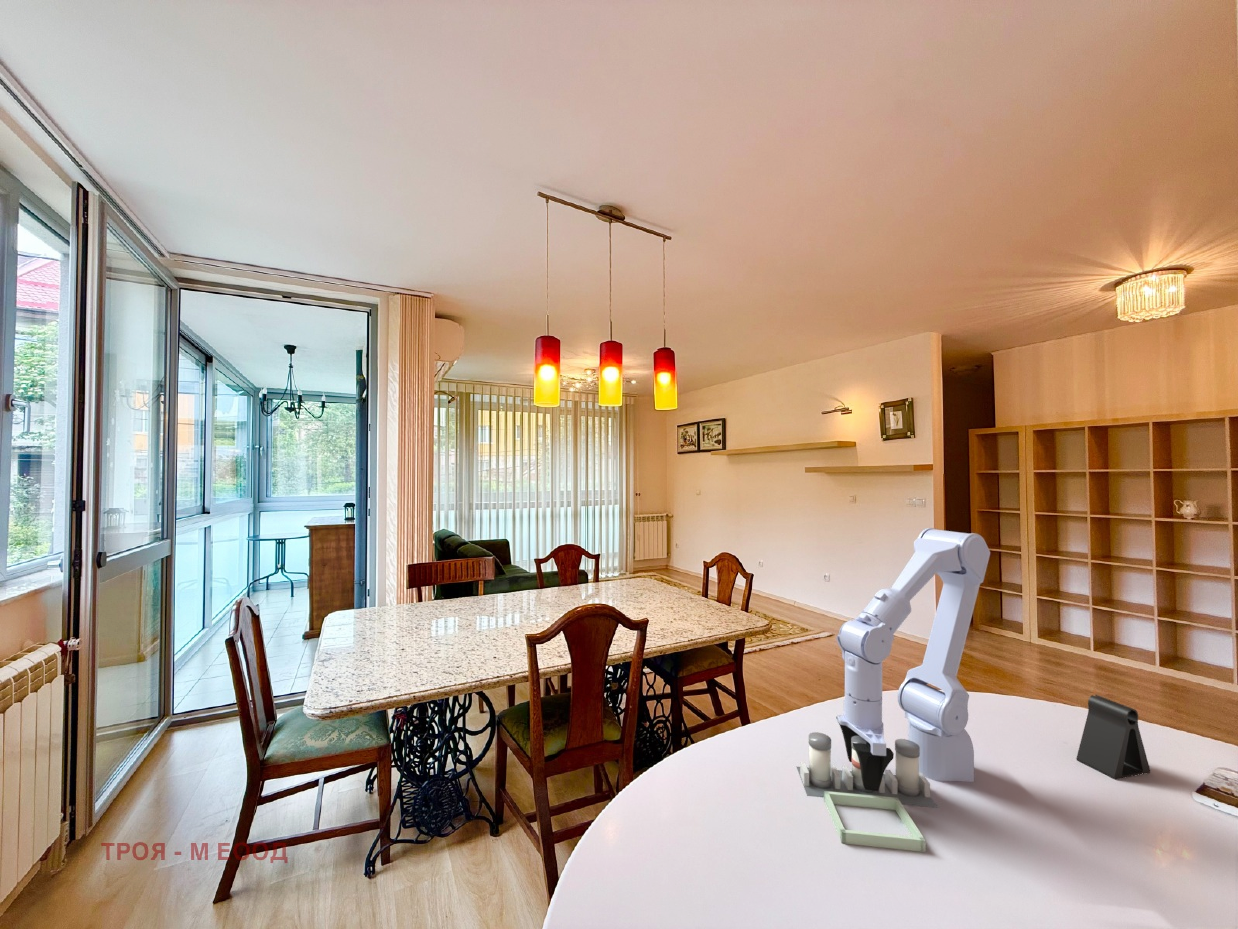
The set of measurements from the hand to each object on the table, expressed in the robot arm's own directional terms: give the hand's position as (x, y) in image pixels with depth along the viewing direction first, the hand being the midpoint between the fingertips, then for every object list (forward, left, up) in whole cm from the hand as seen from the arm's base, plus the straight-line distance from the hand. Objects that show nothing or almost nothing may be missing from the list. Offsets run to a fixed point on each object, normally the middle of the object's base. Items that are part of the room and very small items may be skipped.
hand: (862, 774), depth 84 cm
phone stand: (-49, -15, -3) cm, 51 cm away
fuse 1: (+7, 0, -2) cm, 7 cm away
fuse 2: (-7, 0, -2) cm, 7 cm away
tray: (+2, +9, -3) cm, 10 cm away
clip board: (0, 0, -3) cm, 3 cm away
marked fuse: (0, 0, -2) cm, 2 cm away
